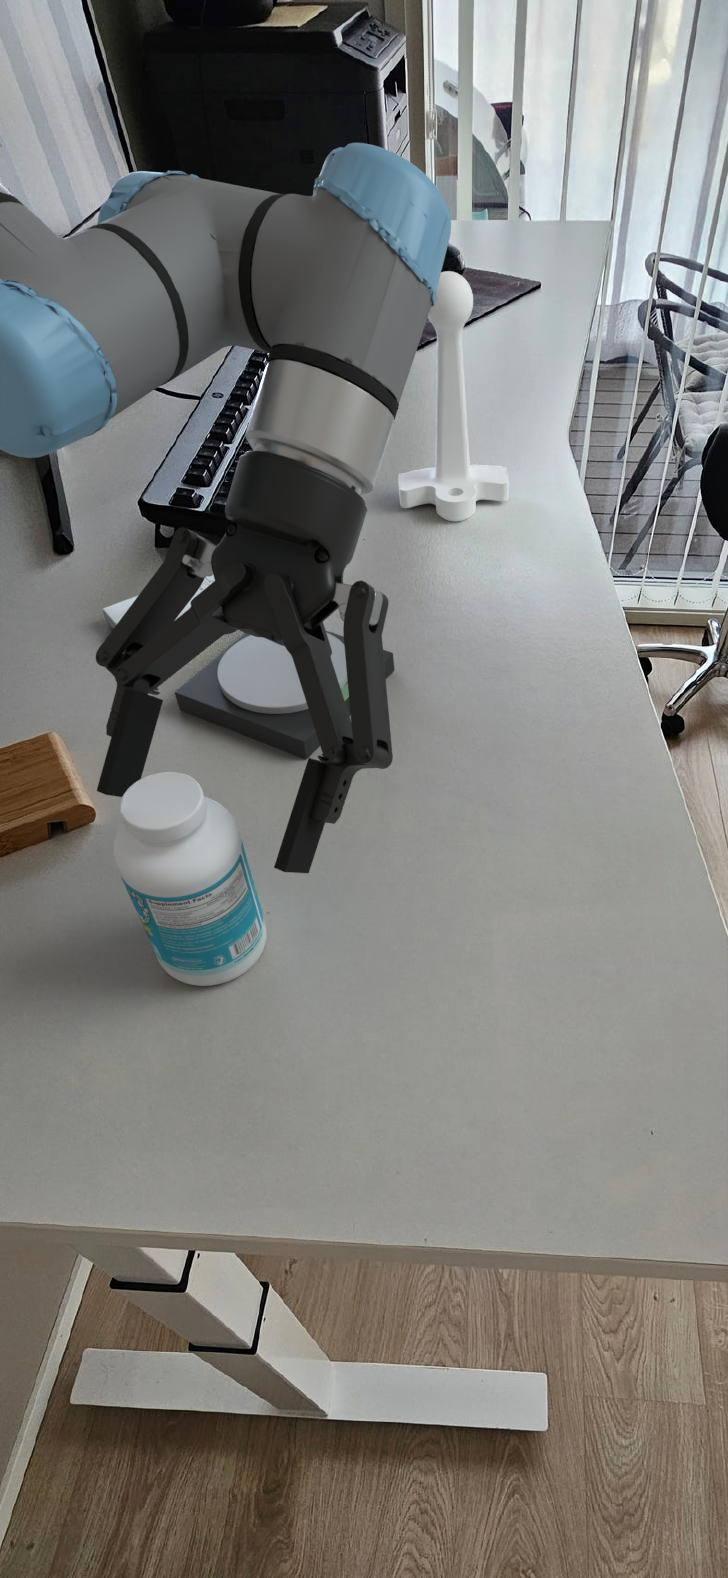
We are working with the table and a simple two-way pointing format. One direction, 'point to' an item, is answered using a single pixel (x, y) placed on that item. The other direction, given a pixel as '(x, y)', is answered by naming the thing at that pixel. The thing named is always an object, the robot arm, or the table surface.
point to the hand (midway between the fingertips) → (200, 832)
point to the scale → (262, 692)
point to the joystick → (452, 420)
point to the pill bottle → (189, 880)
